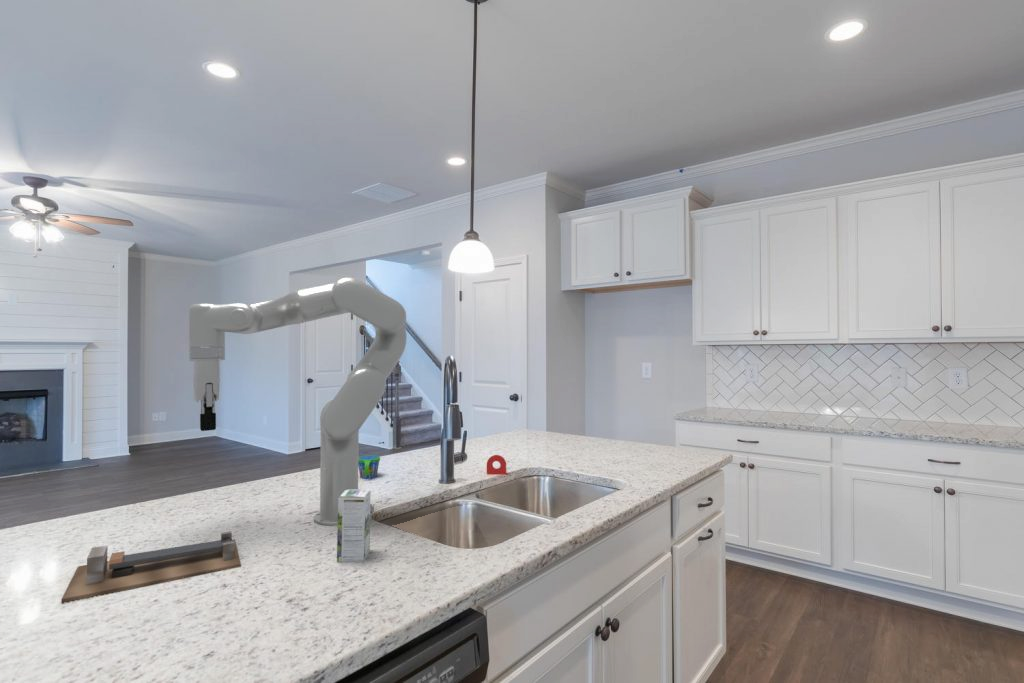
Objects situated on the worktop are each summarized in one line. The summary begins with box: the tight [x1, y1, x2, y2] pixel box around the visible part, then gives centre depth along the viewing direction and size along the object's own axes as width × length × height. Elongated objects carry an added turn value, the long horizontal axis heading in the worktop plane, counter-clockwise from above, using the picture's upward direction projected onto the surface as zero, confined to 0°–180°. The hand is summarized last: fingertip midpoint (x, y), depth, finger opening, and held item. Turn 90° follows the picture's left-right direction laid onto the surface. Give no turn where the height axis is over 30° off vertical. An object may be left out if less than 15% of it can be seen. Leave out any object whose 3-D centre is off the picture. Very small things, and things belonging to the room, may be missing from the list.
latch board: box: [60, 531, 242, 604], centre depth 105 cm, size 28×16×6 cm, turn 122°
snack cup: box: [358, 454, 381, 480], centre depth 179 cm, size 11×8×7 cm
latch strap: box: [108, 537, 233, 570], centre depth 106 cm, size 21×5×2 cm, turn 122°
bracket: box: [486, 454, 508, 476], centre depth 179 cm, size 12×4×8 cm, turn 85°
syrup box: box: [336, 488, 372, 563], centre depth 110 cm, size 6×6×14 cm
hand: (208, 429), depth 125 cm, fingers closed
